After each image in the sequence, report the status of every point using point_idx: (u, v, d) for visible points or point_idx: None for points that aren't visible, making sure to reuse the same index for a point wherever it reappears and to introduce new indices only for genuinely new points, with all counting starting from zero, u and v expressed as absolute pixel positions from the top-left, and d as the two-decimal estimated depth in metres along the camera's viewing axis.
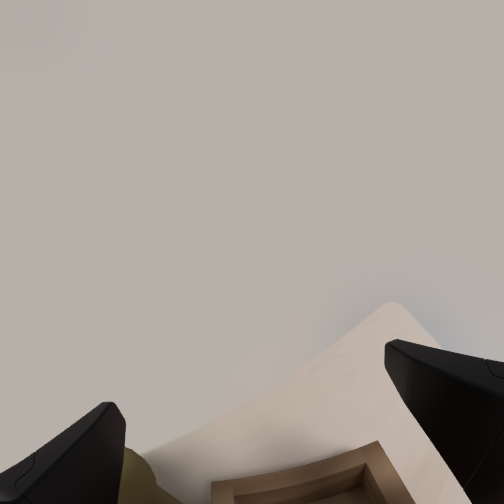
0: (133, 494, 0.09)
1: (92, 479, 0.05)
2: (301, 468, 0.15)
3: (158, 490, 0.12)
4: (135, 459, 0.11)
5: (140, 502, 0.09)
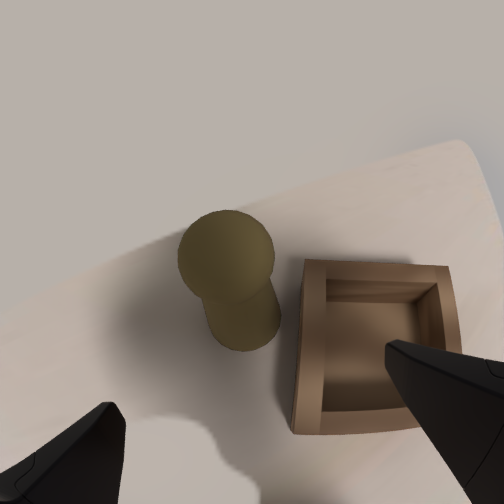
0: (260, 275, 0.14)
1: (92, 479, 0.05)
2: (387, 265, 0.19)
3: None
4: (263, 230, 0.15)
5: (262, 283, 0.14)
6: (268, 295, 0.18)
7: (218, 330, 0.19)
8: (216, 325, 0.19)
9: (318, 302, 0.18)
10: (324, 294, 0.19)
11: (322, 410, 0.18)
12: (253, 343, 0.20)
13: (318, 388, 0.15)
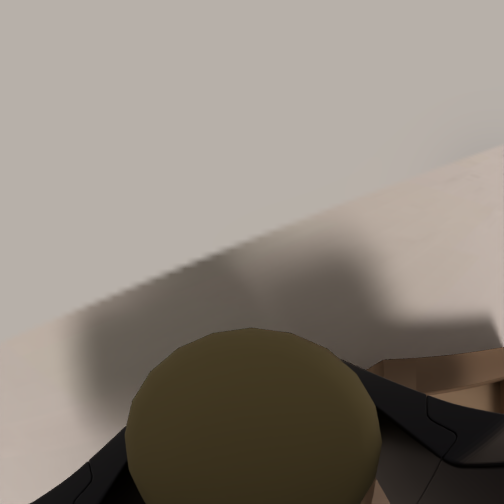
0: None
1: None
2: (494, 352, 0.09)
3: None
4: (368, 406, 0.04)
5: None
6: None
7: None
8: None
9: None
10: None
11: None
12: None
13: None
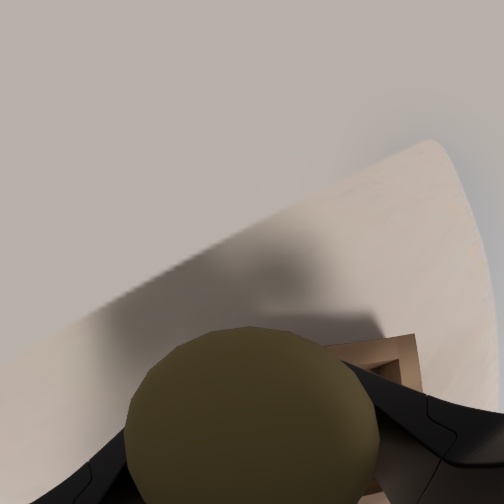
0: None
1: None
2: (335, 348, 0.16)
3: None
4: (366, 405, 0.04)
5: None
6: None
7: None
8: None
9: None
10: None
11: None
12: None
13: None
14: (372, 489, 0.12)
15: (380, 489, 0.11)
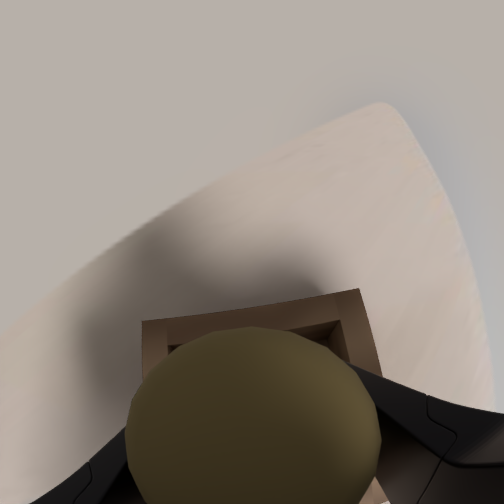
0: None
1: None
2: (255, 310, 0.14)
3: None
4: (367, 405, 0.04)
5: None
6: None
7: None
8: None
9: None
10: None
11: None
12: None
13: None
14: None
15: None
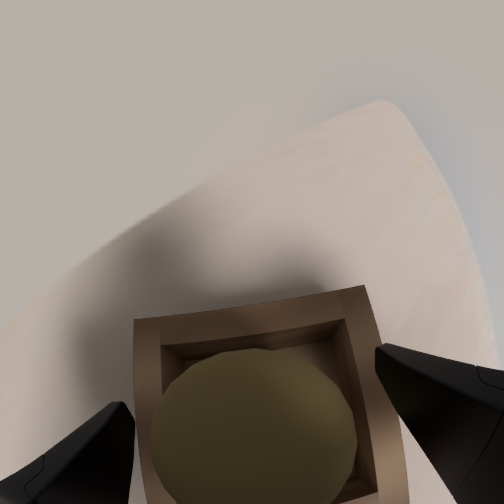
0: (331, 501, 0.04)
1: (102, 480, 0.05)
2: (254, 308, 0.14)
3: None
4: (345, 414, 0.05)
5: None
6: None
7: None
8: None
9: (151, 380, 0.12)
10: (158, 368, 0.12)
11: None
12: None
13: None
14: None
15: (344, 498, 0.08)
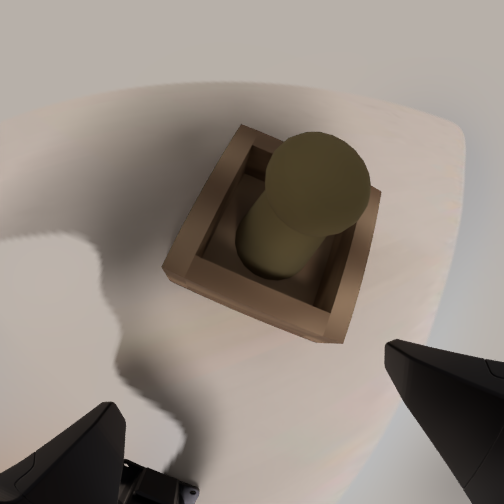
0: (346, 223, 0.12)
1: (92, 479, 0.05)
2: None
3: None
4: (370, 184, 0.12)
5: (339, 231, 0.13)
6: (321, 241, 0.16)
7: (249, 242, 0.18)
8: (252, 236, 0.18)
9: (235, 159, 0.19)
10: (244, 155, 0.19)
11: None
12: (270, 273, 0.20)
13: (201, 231, 0.17)
14: None
15: None
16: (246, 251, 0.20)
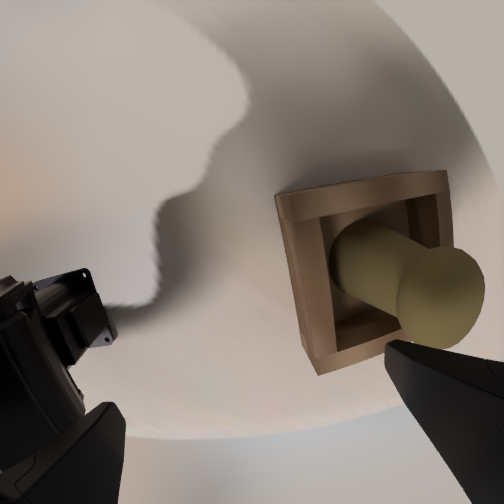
0: None
1: (92, 479, 0.05)
2: None
3: None
4: (458, 341, 0.11)
5: (412, 340, 0.12)
6: None
7: (356, 249, 0.17)
8: (363, 251, 0.16)
9: (416, 189, 0.16)
10: (423, 194, 0.16)
11: None
12: (338, 278, 0.19)
13: (341, 207, 0.16)
14: None
15: None
16: (345, 248, 0.18)
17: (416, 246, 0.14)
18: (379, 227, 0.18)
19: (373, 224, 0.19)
